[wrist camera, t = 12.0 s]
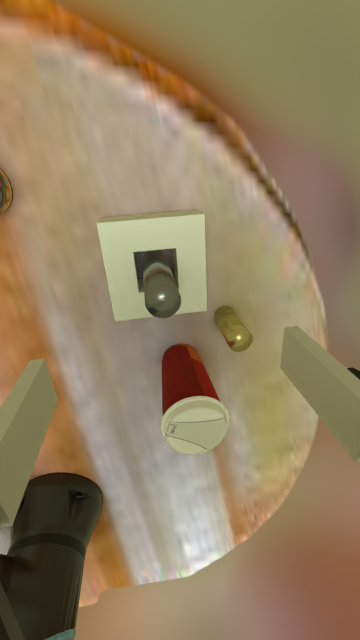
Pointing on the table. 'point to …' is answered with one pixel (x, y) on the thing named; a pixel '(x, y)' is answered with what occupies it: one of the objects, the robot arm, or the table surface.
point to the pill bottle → (4, 192)
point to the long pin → (159, 285)
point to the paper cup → (190, 403)
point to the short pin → (232, 329)
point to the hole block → (154, 234)
